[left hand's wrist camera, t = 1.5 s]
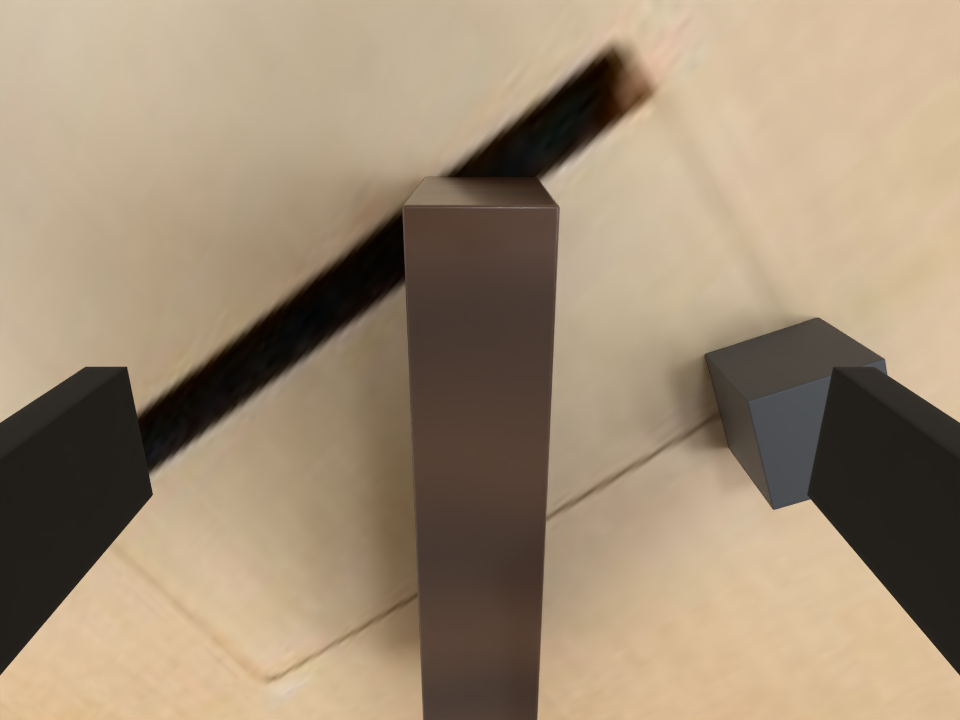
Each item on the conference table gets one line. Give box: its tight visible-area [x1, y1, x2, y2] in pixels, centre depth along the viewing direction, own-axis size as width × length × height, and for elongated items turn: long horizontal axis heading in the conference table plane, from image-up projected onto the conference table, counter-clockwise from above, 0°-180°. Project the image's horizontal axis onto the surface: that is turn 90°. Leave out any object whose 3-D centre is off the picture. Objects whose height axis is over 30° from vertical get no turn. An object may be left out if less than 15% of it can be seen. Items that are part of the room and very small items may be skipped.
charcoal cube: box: [705, 318, 887, 510], centre depth 27 cm, size 5×5×5 cm
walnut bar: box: [403, 177, 560, 720], centre depth 27 cm, size 24×4×8 cm, turn 0°
